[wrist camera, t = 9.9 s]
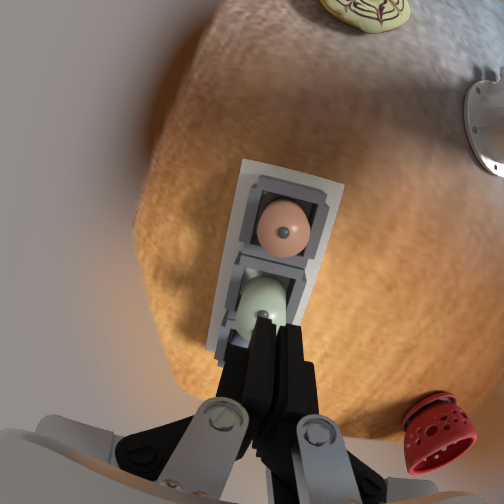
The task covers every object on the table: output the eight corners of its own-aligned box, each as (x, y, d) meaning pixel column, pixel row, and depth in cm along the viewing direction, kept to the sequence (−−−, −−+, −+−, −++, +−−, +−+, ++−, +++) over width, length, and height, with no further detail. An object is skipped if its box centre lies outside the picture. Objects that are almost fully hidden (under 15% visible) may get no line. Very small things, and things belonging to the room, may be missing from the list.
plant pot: (394, 404, 36) (411, 460, 25) (459, 375, 33) (486, 423, 22) (394, 437, 39) (405, 484, 28) (450, 413, 37) (468, 455, 25)
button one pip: (267, 192, 25) (263, 200, 20) (309, 203, 25) (316, 214, 20) (257, 233, 26) (251, 251, 21) (298, 243, 26) (302, 263, 21)
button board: (244, 158, 26) (236, 158, 22) (341, 183, 26) (354, 188, 21) (208, 342, 34) (198, 367, 30) (282, 359, 34) (281, 386, 29)
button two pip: (248, 270, 25) (239, 297, 20) (290, 280, 25) (292, 310, 20) (239, 306, 26) (230, 338, 22) (279, 316, 26) (277, 349, 21)
